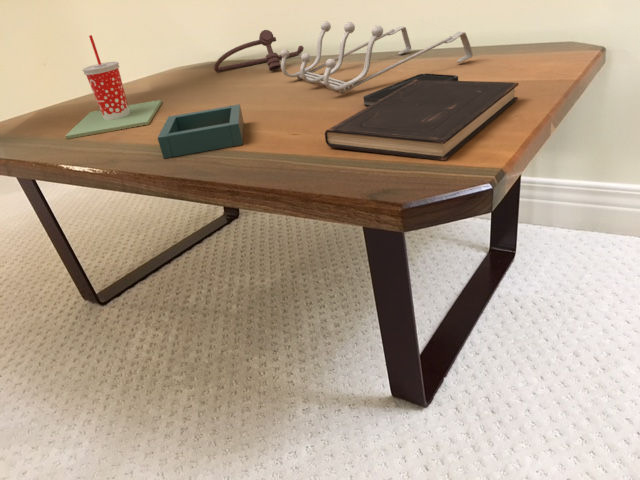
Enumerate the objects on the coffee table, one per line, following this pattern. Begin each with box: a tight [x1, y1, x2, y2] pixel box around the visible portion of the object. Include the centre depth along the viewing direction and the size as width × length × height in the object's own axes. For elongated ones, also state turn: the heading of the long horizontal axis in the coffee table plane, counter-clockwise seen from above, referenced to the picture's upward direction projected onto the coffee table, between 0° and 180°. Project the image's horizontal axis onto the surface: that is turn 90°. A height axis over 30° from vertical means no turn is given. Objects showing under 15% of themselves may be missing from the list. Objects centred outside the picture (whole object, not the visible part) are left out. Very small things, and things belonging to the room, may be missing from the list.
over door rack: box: [280, 20, 474, 94], centre depth 99 cm, size 22×29×10 cm
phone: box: [363, 73, 459, 107], centre depth 84 cm, size 8×1×15 cm
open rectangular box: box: [157, 103, 245, 160], centre depth 78 cm, size 11×11×3 cm
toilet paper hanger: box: [213, 29, 305, 73], centre depth 122 cm, size 22×8×14 cm
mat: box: [64, 99, 163, 140], centre depth 98 cm, size 14×16×1 cm
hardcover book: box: [324, 80, 519, 162], centre depth 70 cm, size 16×23×2 cm
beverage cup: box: [81, 34, 130, 120], centre depth 95 cm, size 6×6×14 cm
